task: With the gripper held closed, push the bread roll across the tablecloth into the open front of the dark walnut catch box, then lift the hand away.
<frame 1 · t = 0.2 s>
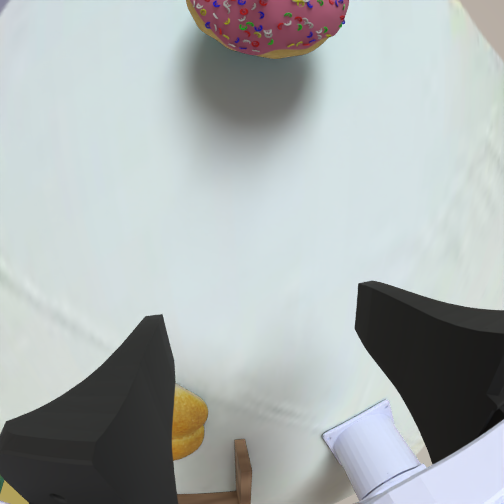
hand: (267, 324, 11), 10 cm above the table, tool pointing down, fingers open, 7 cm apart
catch box: (177, 472, 28), on the table
bread roll: (160, 411, 25), on the table
cupcake: (252, 17, 16), on the table
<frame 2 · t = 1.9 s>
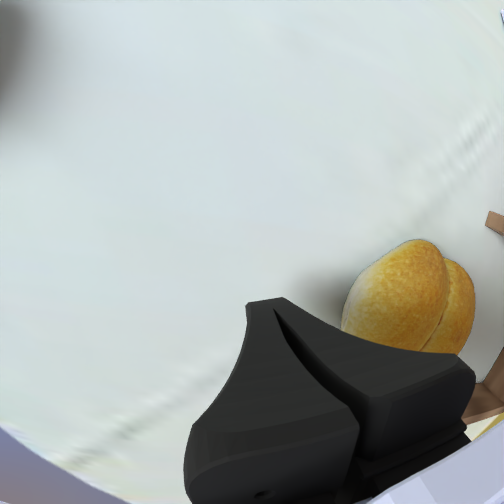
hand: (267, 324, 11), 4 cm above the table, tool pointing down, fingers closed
catch box: (488, 321, 19), on the table
bread roll: (400, 306, 17), on the table
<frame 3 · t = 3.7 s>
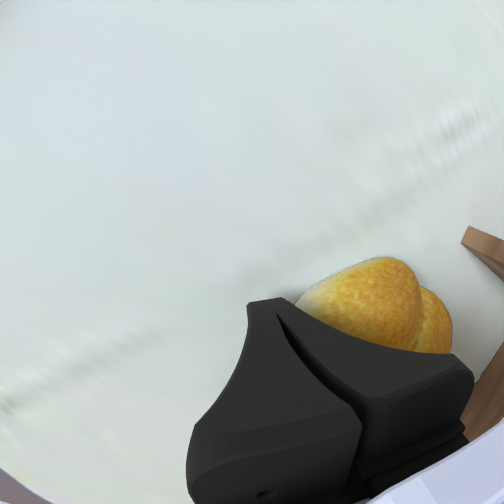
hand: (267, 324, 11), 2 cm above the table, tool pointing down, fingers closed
catch box: (450, 364, 17), on the table
bread roll: (358, 337, 15), on the table, touching gripper
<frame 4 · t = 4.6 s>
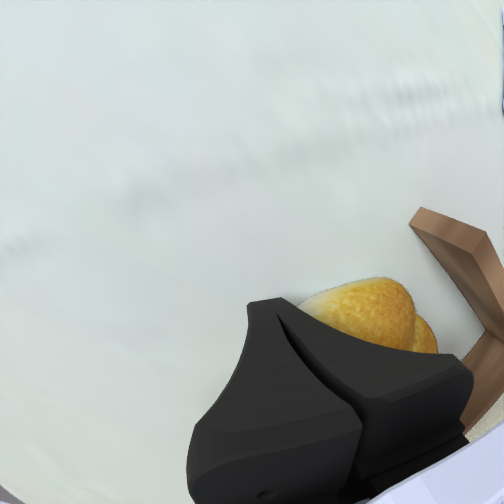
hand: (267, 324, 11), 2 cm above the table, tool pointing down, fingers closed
catch box: (384, 378, 16), on the table
bread roll: (346, 352, 15), on the table, touching gripper
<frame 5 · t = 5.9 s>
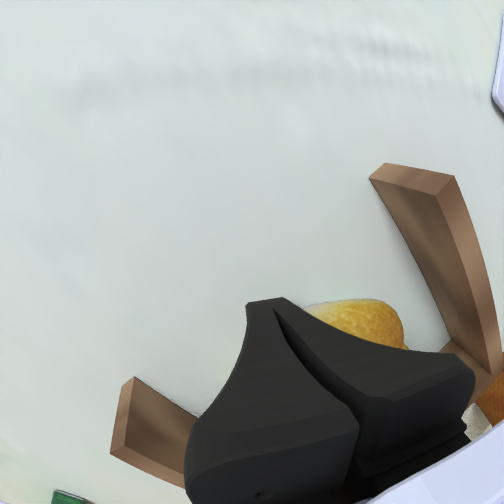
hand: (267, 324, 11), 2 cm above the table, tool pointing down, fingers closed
disposable coffee cup: (496, 373, 20), on the table
catch box: (323, 365, 14), on the table
bread roll: (328, 368, 15), on the table
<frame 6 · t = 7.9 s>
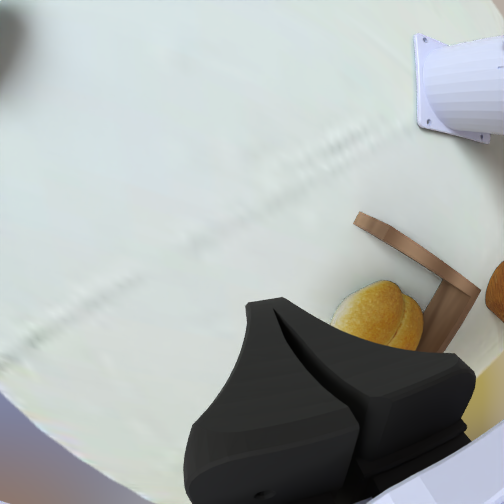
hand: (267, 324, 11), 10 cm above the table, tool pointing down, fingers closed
disposable coffee cup: (499, 284, 28), on the table
catch box: (366, 322, 25), on the table
bread roll: (370, 323, 26), on the table
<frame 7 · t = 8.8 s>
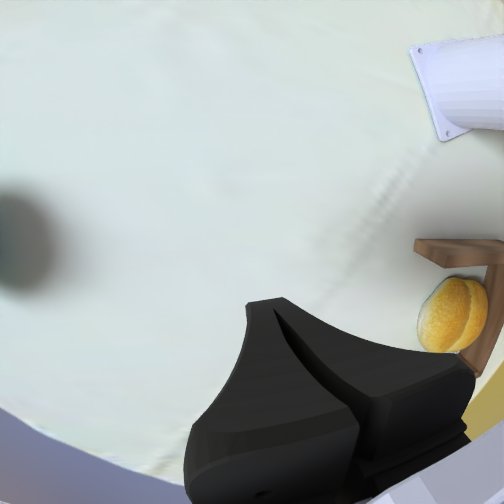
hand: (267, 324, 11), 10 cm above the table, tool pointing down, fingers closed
catch box: (442, 312, 27), on the table
bread roll: (445, 309, 28), on the table
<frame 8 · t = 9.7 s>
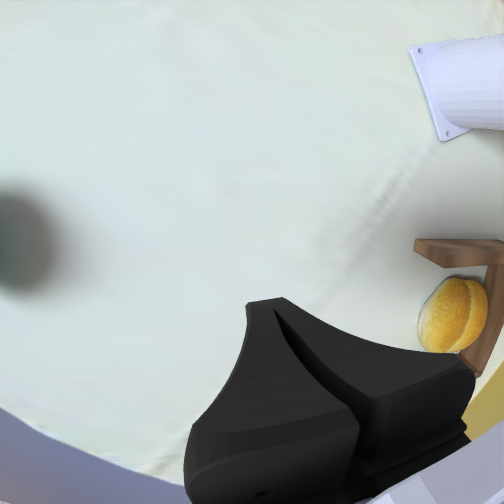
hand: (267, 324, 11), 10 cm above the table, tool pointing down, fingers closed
catch box: (442, 312, 27), on the table
bread roll: (445, 310, 28), on the table
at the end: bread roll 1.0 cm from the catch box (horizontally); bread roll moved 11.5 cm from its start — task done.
